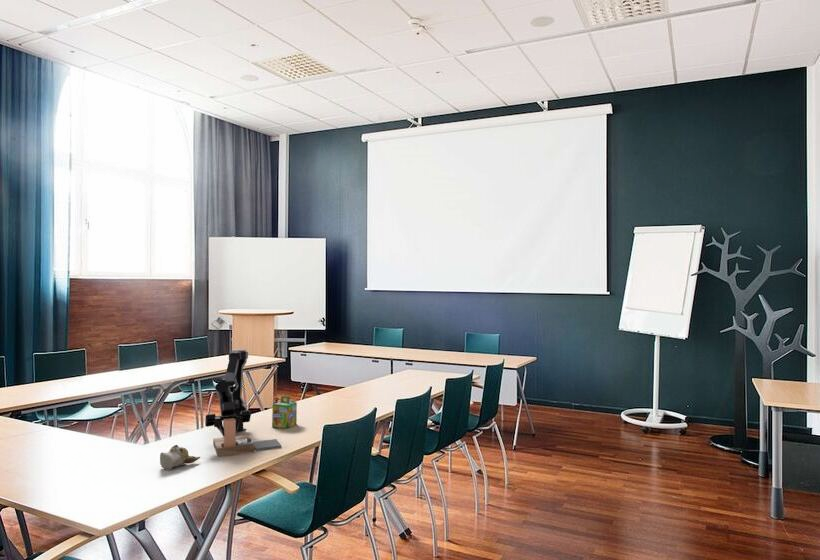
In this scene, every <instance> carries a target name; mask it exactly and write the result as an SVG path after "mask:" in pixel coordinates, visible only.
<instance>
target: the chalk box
mask: <svg viewBox="0 0 820 560" xmlns="http://www.w3.org/2000/svg"><path fill="white" fill-rule="evenodd" d="M290 397H291V396H289V395H282V396H281V397H280V401H278V402H276V403H273V404H272V412H271V413H272V415H271V418H272V419H271V420H272V423H271V424H272V425H271V428H279V429H287V430H288V429H290V428H292V427H294V426H296V425H297V422H298V421H297V418H298V417H297V414H298V411H297V409H298V407H297V404H298V403H297V402H296V401H290V400H291V398H290ZM284 399H286V400H284Z"/></svg>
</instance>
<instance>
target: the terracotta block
mask: <svg viewBox="0 0 820 560" xmlns="http://www.w3.org/2000/svg"><path fill="white" fill-rule="evenodd" d="M222 424H223V428H224V447H232V446H236V436H237V434H236V420H235V419H234V418H229V419H223V421H222Z"/></svg>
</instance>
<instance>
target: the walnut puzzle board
mask: <svg viewBox="0 0 820 560" xmlns="http://www.w3.org/2000/svg"><path fill="white" fill-rule="evenodd" d="M247 438H250V436H249V435H248V434H243V435H242V434H241V435H236V440H241V439H247ZM212 444H213V447H214V451H215V453H216V455H217V457H219V458H220V457H226V456H227V457H228V456H235V455H242V454H243V455H244V454H249V453H255V452H256V451H255V446H254V444H250V445H242V446H238V444H237V442H236V446H232V447H224V437H217V438H216V437H215V438H213V439H212Z"/></svg>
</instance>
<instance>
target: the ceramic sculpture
mask: <svg viewBox="0 0 820 560" xmlns="http://www.w3.org/2000/svg"><path fill="white" fill-rule="evenodd" d="M200 458H201V456H193V455H189V451H188V449H187V448H186V447H184V446H183V447H182V446H179V445H178V444H174V445H173V446H172V447H171V448H170V449H169V451H168V452H160V455H159V464H160V466H161V468H162V469H163V468H164V469H163V470H165V469H170V470H172V469H173V467H180V466H179V465H181V466H184V465H185V464H188V465H189V464H192V463H195V462H196V461H198V460H199V459H200ZM183 464H184V465H183Z"/></svg>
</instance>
